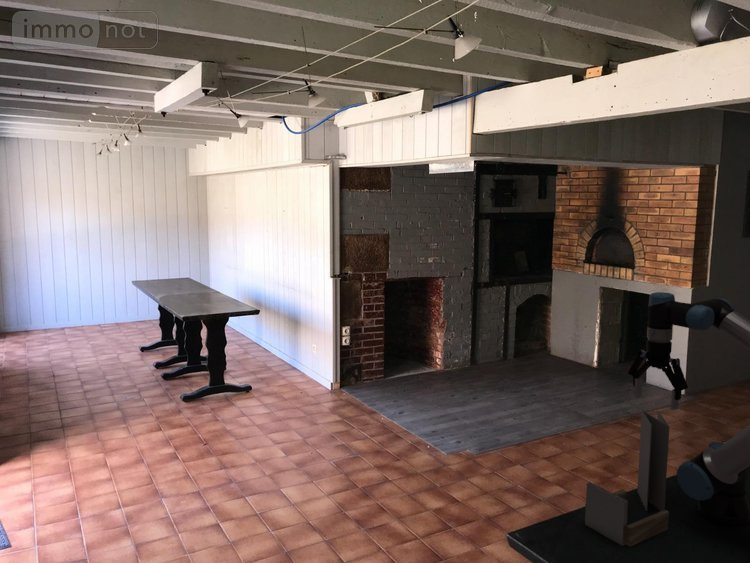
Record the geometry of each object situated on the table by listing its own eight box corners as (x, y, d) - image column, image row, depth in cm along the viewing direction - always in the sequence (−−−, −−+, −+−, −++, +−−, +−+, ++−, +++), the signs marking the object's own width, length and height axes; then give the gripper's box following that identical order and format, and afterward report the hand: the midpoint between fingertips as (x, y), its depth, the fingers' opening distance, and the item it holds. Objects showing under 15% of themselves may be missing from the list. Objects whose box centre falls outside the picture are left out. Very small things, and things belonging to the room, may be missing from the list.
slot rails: (667, 529, 194) (669, 511, 193) (629, 547, 185) (630, 528, 184) (621, 506, 209) (622, 489, 208) (584, 521, 200) (585, 503, 199)
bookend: (625, 544, 186) (627, 501, 184) (622, 546, 186) (624, 502, 184) (588, 523, 198) (590, 482, 196) (585, 524, 198) (586, 483, 196)
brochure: (664, 514, 203) (669, 426, 199) (646, 512, 204) (651, 425, 200) (654, 493, 217) (658, 410, 212) (637, 491, 218) (641, 410, 213)
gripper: (619, 333, 211) (616, 394, 214) (688, 350, 190) (683, 416, 193) (633, 331, 215) (630, 390, 218) (702, 346, 193) (698, 411, 197)
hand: (655, 402), depth 205 cm, fingers open, 13 cm apart
